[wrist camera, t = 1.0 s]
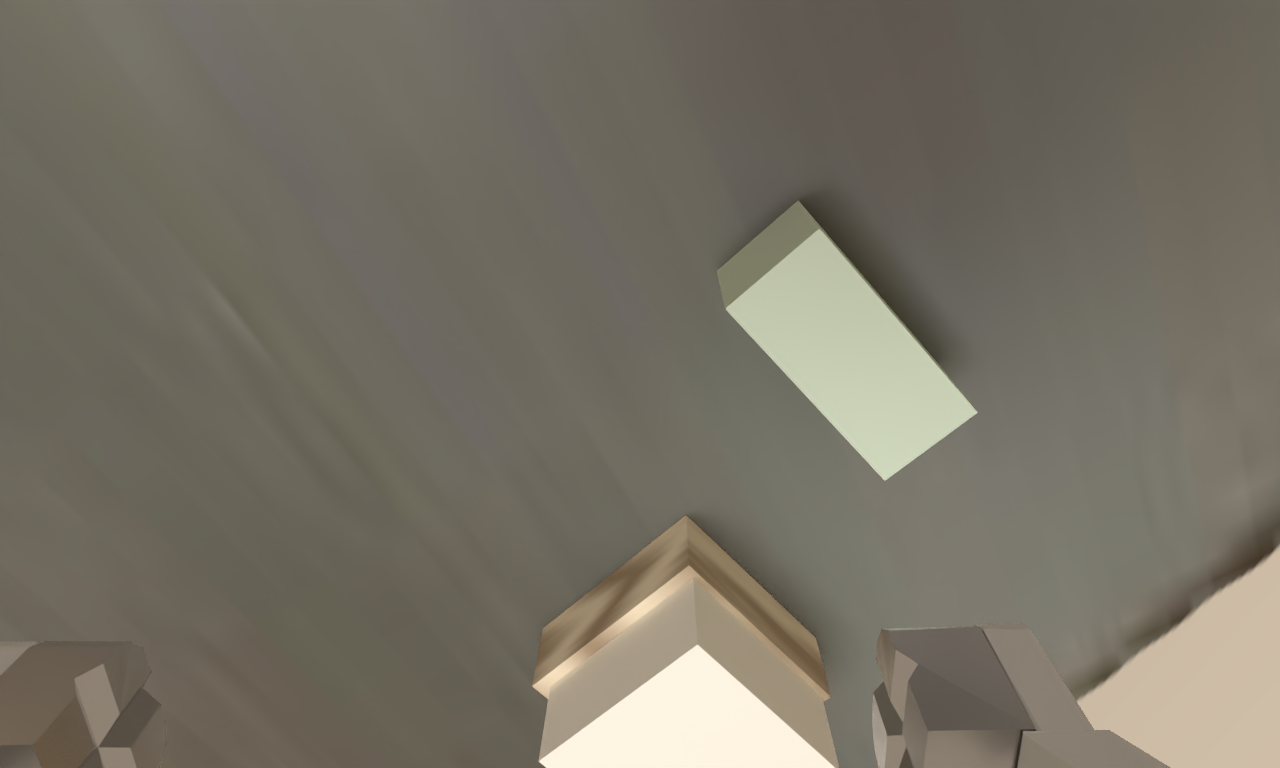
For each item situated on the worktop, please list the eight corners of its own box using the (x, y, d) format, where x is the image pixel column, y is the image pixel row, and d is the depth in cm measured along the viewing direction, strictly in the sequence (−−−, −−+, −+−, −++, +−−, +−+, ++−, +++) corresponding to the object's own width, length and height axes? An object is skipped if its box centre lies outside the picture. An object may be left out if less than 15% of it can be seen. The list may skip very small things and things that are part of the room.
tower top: (693, 577, 44) (697, 644, 39) (821, 696, 46) (840, 772, 42) (550, 687, 46) (538, 761, 42) (679, 793, 49) (682, 874, 45)
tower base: (686, 512, 48) (688, 565, 43) (815, 634, 51) (830, 696, 46) (543, 625, 51) (532, 686, 46) (673, 735, 54) (674, 802, 49)
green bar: (797, 199, 41) (819, 228, 36) (937, 362, 44) (977, 412, 39) (716, 270, 43) (725, 308, 37) (857, 423, 46) (884, 480, 40)
